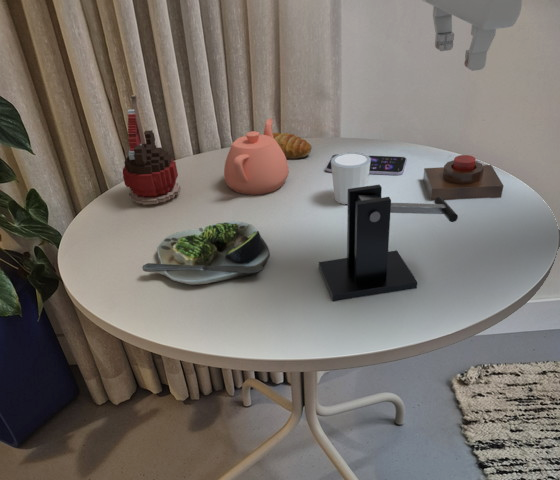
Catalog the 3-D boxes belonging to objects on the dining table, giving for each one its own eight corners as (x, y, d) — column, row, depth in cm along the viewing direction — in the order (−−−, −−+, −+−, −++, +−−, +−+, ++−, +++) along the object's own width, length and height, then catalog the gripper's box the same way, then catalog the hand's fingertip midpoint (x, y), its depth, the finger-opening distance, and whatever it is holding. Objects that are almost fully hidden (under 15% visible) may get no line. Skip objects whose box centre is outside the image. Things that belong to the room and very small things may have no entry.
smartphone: (332, 153, 117) (407, 156, 113) (332, 156, 117) (407, 159, 114) (324, 169, 112) (402, 172, 108) (324, 172, 112) (402, 175, 108)
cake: (175, 207, 105) (154, 103, 93) (125, 210, 106) (98, 107, 94) (184, 183, 113) (166, 85, 101) (138, 186, 114) (114, 88, 102)
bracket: (396, 257, 87) (402, 174, 78) (416, 289, 80) (425, 202, 71) (318, 268, 86) (316, 186, 77) (332, 302, 79) (331, 215, 71)
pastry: (317, 150, 121) (317, 132, 118) (302, 163, 117) (301, 144, 114) (279, 145, 125) (277, 127, 122) (263, 157, 121) (261, 138, 118)
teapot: (211, 198, 107) (203, 147, 101) (248, 161, 119) (243, 113, 113) (271, 204, 103) (267, 151, 97) (303, 165, 116) (301, 116, 109)
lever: (439, 209, 81) (444, 192, 79) (455, 226, 76) (460, 209, 75) (351, 206, 78) (354, 189, 77) (362, 224, 74) (365, 207, 72)
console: (489, 176, 106) (493, 154, 103) (501, 197, 99) (505, 175, 96) (423, 179, 107) (425, 158, 104) (430, 201, 100) (432, 178, 97)
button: (471, 164, 102) (473, 154, 100) (476, 172, 99) (477, 162, 98) (451, 165, 102) (452, 155, 101) (454, 173, 99) (456, 163, 98)
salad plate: (152, 306, 81) (144, 278, 78) (137, 248, 94) (130, 223, 91) (282, 276, 85) (280, 249, 82) (250, 225, 98) (247, 199, 95)
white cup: (377, 195, 103) (379, 156, 98) (353, 210, 99) (354, 170, 95) (347, 186, 107) (347, 148, 102) (323, 200, 103) (322, 161, 98)
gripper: (556, -94, 50) (525, 78, 59) (465, -101, 65) (452, 37, 75) (486, -85, 50) (466, 86, 59) (411, -94, 65) (405, 43, 74)
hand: (458, 58), depth 67 cm, fingers open, 8 cm apart
